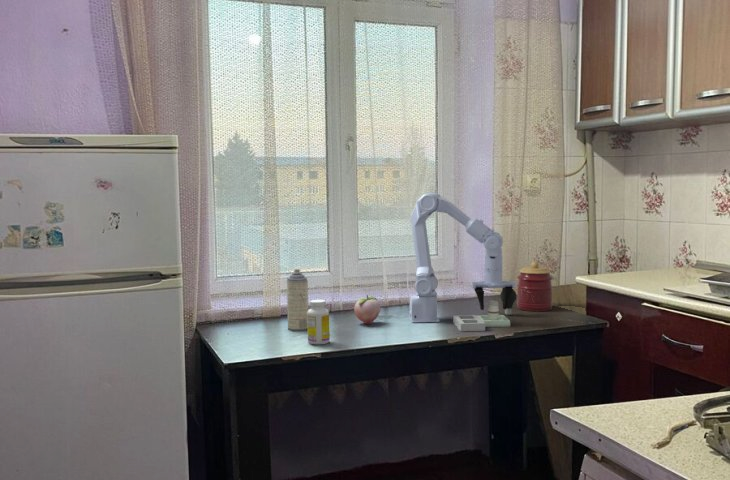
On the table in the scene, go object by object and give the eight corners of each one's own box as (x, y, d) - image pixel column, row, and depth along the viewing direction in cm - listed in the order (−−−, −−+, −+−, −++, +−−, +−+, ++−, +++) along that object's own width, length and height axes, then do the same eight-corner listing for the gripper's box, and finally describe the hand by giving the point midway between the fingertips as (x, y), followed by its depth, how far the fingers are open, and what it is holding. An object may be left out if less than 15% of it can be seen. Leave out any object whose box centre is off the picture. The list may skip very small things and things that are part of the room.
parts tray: (482, 327, 232) (482, 321, 232) (476, 321, 241) (476, 315, 241) (510, 326, 232) (510, 320, 232) (503, 320, 241) (503, 314, 241)
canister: (510, 306, 266) (510, 260, 264) (540, 304, 270) (541, 258, 268) (528, 313, 254) (528, 264, 252) (559, 310, 258) (560, 262, 256)
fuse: (489, 323, 235) (489, 302, 234) (486, 321, 238) (487, 300, 238) (500, 323, 235) (500, 302, 234) (497, 320, 238) (497, 300, 238)
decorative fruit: (363, 320, 244) (363, 291, 243) (384, 322, 240) (383, 293, 239) (349, 325, 236) (348, 296, 235) (370, 328, 232) (369, 298, 231)
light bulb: (515, 313, 252) (515, 286, 251) (517, 317, 247) (517, 289, 246) (499, 313, 253) (499, 286, 252) (500, 316, 247) (501, 288, 246)
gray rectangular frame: (460, 331, 226) (460, 323, 226) (453, 322, 239) (453, 315, 239) (485, 330, 226) (485, 323, 226) (476, 322, 239) (476, 315, 239)
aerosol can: (312, 327, 234) (311, 268, 232) (302, 332, 228) (301, 271, 226) (294, 325, 237) (293, 267, 235) (284, 330, 230) (282, 269, 228)
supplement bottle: (329, 339, 217) (329, 298, 216) (329, 344, 210) (328, 302, 209) (308, 340, 217) (307, 299, 216) (307, 345, 210) (306, 303, 209)
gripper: (474, 271, 230) (474, 312, 232) (518, 270, 231) (517, 311, 232) (470, 268, 237) (470, 307, 239) (512, 267, 238) (512, 306, 239)
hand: (493, 309), depth 236 cm, fingers open, 7 cm apart
